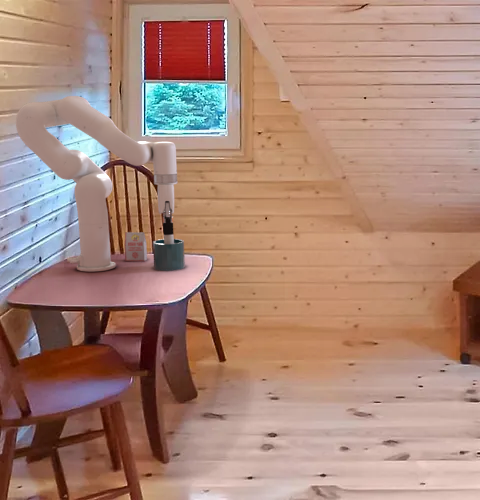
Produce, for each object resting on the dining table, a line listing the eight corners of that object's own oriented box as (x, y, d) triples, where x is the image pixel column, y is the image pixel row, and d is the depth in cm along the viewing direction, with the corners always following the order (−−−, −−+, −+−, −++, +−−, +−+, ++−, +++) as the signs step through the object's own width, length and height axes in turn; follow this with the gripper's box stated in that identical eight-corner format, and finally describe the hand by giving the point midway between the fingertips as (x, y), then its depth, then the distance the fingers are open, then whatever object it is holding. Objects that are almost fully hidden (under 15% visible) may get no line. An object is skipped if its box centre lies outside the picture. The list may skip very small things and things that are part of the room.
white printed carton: (128, 258, 274) (126, 231, 272) (147, 259, 274) (145, 231, 272) (125, 261, 270) (123, 233, 268) (144, 261, 270) (143, 233, 268)
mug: (185, 269, 257) (184, 243, 255) (154, 271, 255) (153, 244, 253) (183, 261, 270) (182, 236, 268) (153, 262, 268) (152, 237, 266)
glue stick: (164, 244, 257) (162, 218, 255) (163, 243, 260) (162, 216, 259) (174, 244, 258) (173, 217, 256) (174, 242, 261) (172, 216, 259)
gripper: (153, 177, 262) (156, 230, 265) (154, 182, 246) (157, 238, 250) (176, 176, 264) (178, 229, 267) (178, 181, 248) (181, 237, 252)
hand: (168, 233), depth 258 cm, fingers closed on glue stick, 3 cm apart
